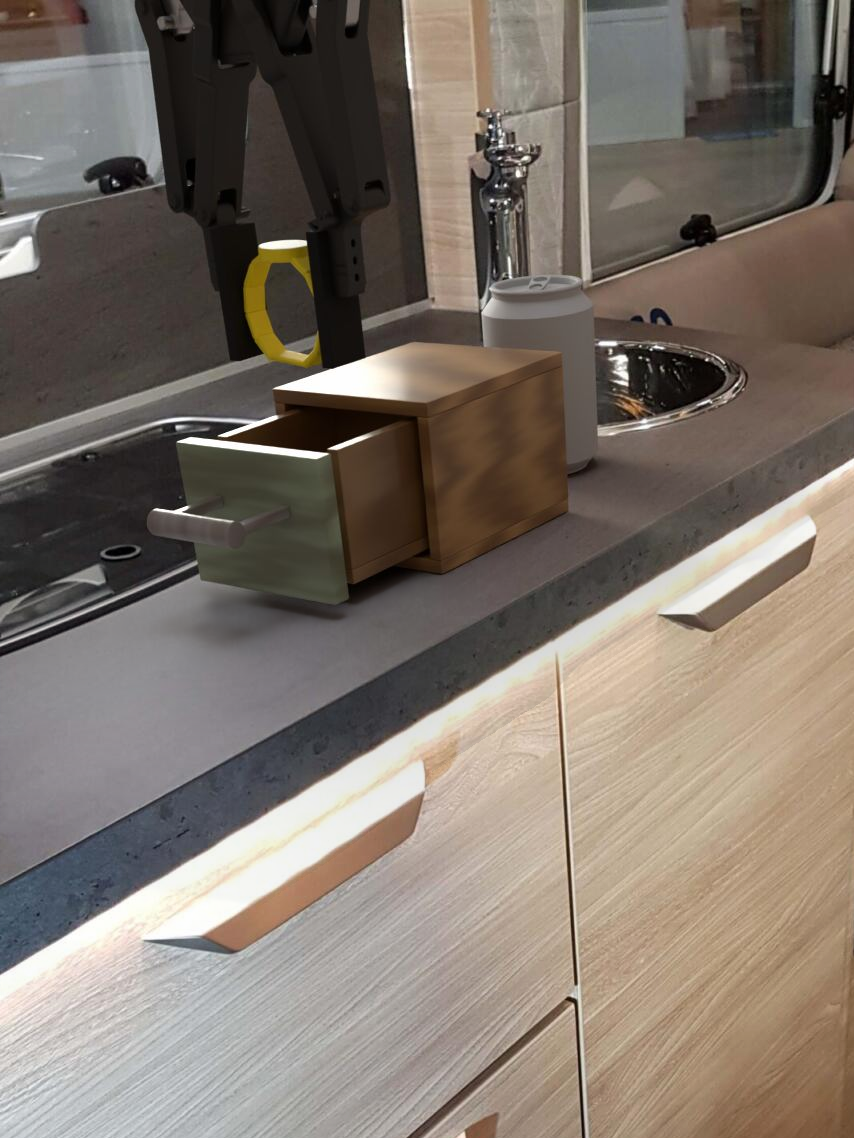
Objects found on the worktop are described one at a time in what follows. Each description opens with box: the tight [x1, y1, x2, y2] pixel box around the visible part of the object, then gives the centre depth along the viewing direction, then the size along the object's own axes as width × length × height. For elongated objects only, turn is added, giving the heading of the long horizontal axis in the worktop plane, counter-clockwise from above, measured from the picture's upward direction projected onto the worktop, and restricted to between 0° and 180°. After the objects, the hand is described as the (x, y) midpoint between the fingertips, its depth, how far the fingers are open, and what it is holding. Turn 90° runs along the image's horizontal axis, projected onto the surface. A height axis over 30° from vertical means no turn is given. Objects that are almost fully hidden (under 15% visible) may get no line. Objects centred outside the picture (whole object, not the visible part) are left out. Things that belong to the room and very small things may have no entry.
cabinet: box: [272, 341, 570, 575], centre depth 95 cm, size 14×12×10 cm
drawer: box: [146, 406, 430, 606], centre depth 88 cm, size 18×10×8 cm, turn 145°
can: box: [481, 274, 599, 475], centre depth 105 cm, size 8×8×12 cm
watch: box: [243, 239, 322, 369], centre depth 83 cm, size 6×3×6 cm, turn 51°
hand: (297, 358), depth 84 cm, fingers closed on watch, 6 cm apart
